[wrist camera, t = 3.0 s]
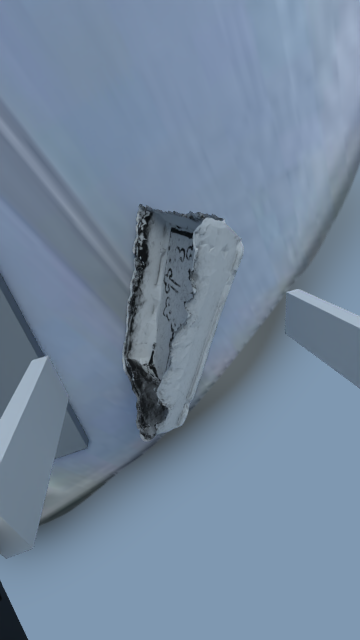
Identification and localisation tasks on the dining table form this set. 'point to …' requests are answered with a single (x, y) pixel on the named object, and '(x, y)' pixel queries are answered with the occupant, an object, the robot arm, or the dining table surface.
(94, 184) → the dining table surface
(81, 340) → the dining table surface
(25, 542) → the robot arm
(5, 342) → the mat
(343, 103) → the dining table surface
